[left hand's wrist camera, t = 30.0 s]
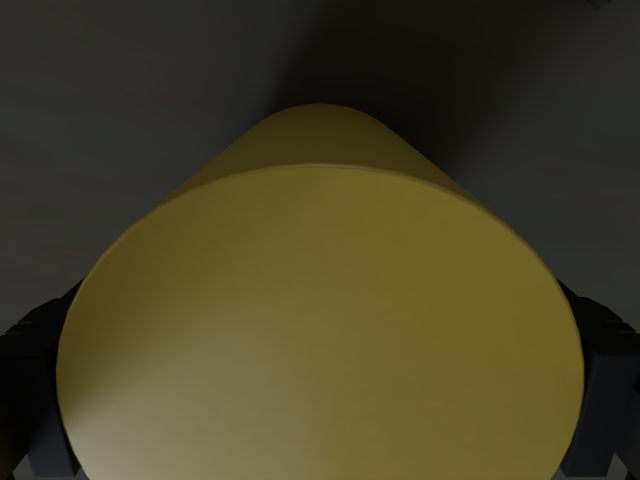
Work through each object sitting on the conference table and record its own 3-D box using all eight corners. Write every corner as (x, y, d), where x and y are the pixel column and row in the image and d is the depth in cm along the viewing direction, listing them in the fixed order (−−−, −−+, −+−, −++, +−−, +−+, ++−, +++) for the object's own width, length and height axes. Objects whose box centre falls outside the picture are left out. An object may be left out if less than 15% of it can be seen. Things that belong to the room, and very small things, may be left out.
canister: (273, 58, 17) (175, 31, 5) (467, 172, 18) (707, 335, 7) (182, 250, 20) (-6, 495, 8) (356, 334, 21) (398, 635, 10)
